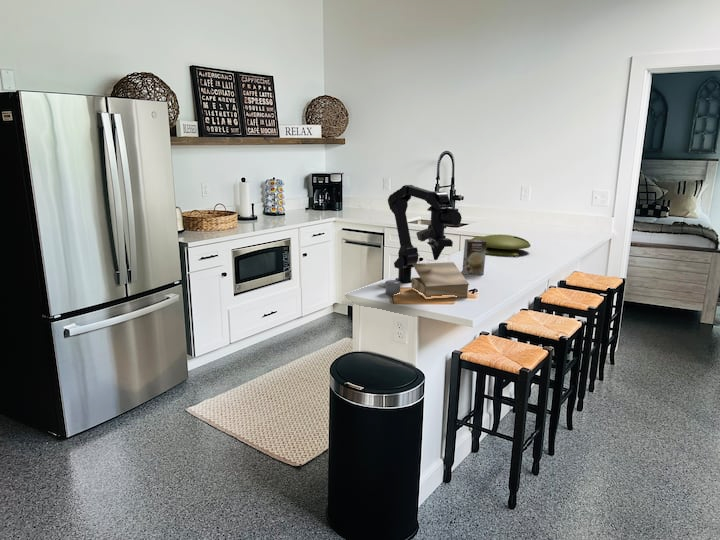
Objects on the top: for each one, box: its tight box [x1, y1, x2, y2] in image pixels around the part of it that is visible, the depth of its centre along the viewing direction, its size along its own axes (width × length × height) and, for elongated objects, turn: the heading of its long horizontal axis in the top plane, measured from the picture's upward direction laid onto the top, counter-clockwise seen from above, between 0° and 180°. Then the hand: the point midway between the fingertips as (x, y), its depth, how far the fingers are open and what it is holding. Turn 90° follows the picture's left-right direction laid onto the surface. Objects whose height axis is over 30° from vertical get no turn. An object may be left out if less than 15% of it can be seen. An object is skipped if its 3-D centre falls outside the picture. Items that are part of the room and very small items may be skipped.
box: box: [411, 276, 469, 299], centre depth 219 cm, size 16×18×5 cm
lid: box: [413, 261, 470, 287], centre depth 217 cm, size 16×18×1 cm
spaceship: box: [471, 234, 532, 258], centre depth 311 cm, size 35×31×10 cm
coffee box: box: [461, 238, 487, 276], centre depth 254 cm, size 9×6×16 cm
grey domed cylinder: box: [385, 279, 401, 297], centre depth 216 cm, size 6×6×5 cm
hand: (435, 259), depth 221 cm, fingers closed
